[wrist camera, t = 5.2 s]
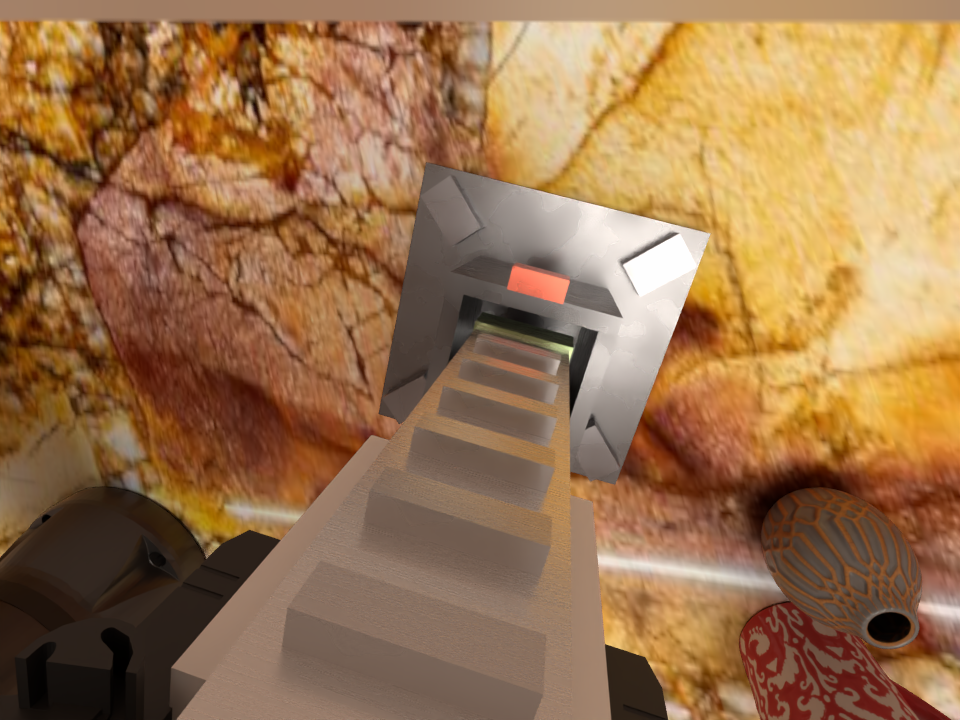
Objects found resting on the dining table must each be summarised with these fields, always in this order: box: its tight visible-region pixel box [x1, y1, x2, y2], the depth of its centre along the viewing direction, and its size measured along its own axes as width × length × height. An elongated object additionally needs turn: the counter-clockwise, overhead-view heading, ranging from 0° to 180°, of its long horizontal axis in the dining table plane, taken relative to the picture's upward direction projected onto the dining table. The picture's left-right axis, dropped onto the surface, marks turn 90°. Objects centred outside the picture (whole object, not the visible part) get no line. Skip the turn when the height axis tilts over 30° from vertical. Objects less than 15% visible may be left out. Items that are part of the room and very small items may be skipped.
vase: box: [761, 487, 922, 649], centre depth 27 cm, size 7×7×9 cm
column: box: [177, 312, 574, 720], centre depth 14 cm, size 5×5×22 cm
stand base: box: [379, 162, 710, 485], centre depth 26 cm, size 16×16×10 cm
